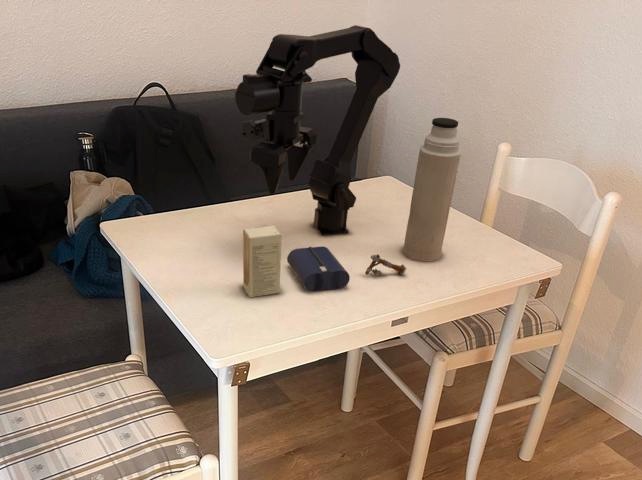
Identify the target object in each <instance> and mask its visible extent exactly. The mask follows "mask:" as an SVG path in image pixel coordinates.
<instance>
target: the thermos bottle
mask: <svg viewBox="0 0 642 480" xmlns="http://www.w3.org/2000/svg"><path fill="white" fill-rule="evenodd" d="M431 124H432V126H431V130H430V133H428V134H426V135H425V139H424V140H423V145H421V146H420V148H419V152H418V157H417V163H416V164H417V165H416V170H415V176H414V181H413V182H414V183H413V188H412V194H411V199H410V207H409V215H408V220H407V224H406V231H405V237H404V243H403V249H402V252H403V255H404V256H405V257H407V258H409V259H412V260H414V261H417V262H418V261H419V262H435V261H437V260H439V259H440V258H441V256H442V255H441V254H442V250H443V245H444V239H445V236H446V230H447V225H448V219H449V215H450V210H451V204H452V200H453V196H454V195H453V194H454V190H455V185H456V181H457V175H458V170H459V165H460V160H461V156H462V151H461V149H460V148H459V147H460V145H461V144H460V141H461V140H460V138H459V137H458V136H457V133H458V127H459V121H458V120H456V119H453V118H449V117H435V118H433V119H432V120H431Z"/></svg>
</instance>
